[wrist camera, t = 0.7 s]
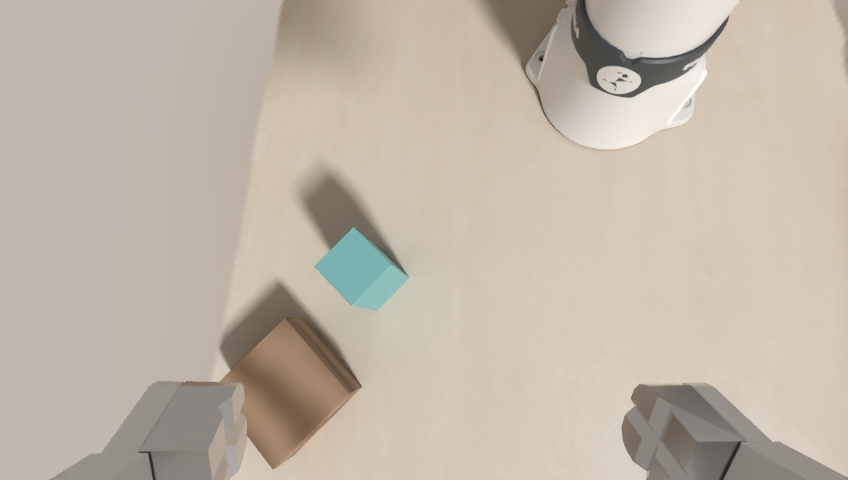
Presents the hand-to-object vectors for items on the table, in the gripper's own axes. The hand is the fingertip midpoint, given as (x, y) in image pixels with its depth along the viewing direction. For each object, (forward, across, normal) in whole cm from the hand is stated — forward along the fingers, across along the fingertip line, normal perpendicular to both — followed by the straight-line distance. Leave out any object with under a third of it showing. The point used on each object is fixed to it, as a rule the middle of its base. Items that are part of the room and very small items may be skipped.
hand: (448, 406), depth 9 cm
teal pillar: (+36, 0, +16) cm, 39 cm away
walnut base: (+31, +8, +27) cm, 42 cm away
